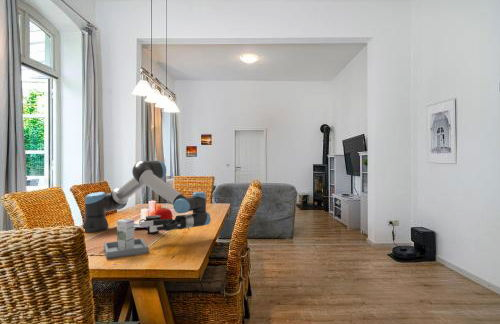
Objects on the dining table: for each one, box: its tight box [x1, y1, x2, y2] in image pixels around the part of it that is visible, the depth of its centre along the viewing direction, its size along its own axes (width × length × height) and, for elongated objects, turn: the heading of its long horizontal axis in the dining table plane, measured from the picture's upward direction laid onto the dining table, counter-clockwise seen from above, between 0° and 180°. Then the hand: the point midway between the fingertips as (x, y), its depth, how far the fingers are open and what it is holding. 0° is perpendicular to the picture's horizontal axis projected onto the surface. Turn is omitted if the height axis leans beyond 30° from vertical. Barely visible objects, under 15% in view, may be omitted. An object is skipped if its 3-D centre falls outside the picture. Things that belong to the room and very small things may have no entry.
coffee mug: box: [138, 214, 160, 235], centre depth 184 cm, size 12×9×10 cm
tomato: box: [154, 207, 173, 226], centre depth 203 cm, size 12×12×13 cm
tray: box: [103, 237, 149, 260], centre depth 148 cm, size 18×18×3 cm
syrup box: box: [116, 218, 135, 250], centre depth 148 cm, size 6×6×14 cm
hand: (145, 226), depth 154 cm, fingers open, 13 cm apart
